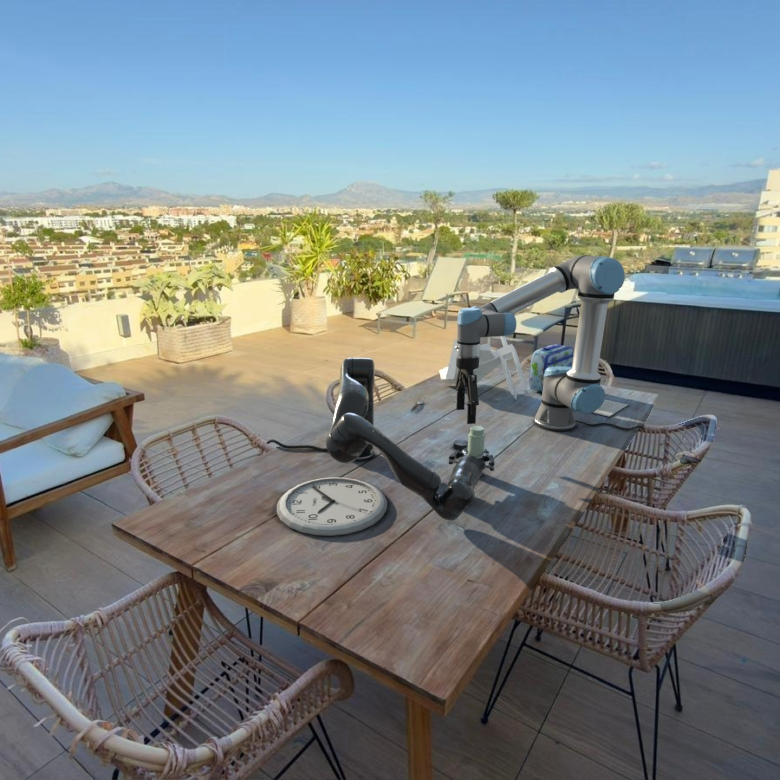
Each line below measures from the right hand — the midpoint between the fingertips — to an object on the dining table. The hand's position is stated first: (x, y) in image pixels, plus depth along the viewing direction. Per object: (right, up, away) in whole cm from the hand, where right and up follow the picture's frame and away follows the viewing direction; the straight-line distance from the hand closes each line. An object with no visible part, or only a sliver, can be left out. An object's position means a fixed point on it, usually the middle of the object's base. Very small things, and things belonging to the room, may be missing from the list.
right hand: (465, 416), depth 178 cm
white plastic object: (+16, +8, +65) cm, 67 cm away
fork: (-14, +2, +44) cm, 47 cm away
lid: (-1, -9, +3) cm, 10 cm away
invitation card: (+66, +2, +48) cm, 81 cm away
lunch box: (+50, +9, +72) cm, 88 cm away
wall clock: (-42, -23, -35) cm, 59 cm away
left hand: (+1, -10, -15) cm, 18 cm away
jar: (0, -17, -15) cm, 23 cm away
